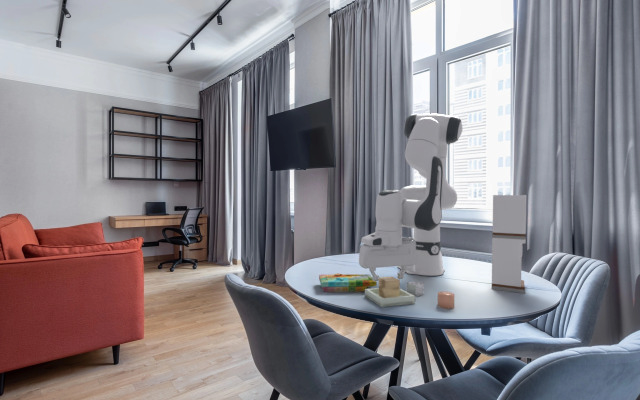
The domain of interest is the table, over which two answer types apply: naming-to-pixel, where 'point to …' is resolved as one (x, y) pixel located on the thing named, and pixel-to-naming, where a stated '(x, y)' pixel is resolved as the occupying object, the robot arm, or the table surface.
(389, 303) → the sage tray
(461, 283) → the table surface
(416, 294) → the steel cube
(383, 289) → the oak block
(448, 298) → the terracotta puck
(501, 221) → the striped white tower
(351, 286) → the puzzle game
